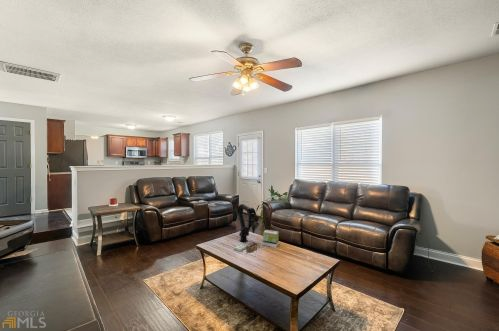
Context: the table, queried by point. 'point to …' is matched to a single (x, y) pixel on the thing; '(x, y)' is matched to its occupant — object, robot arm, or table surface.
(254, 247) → the walnut box
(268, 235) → the tea box
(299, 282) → the table surface
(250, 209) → the robot arm
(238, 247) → the lid
